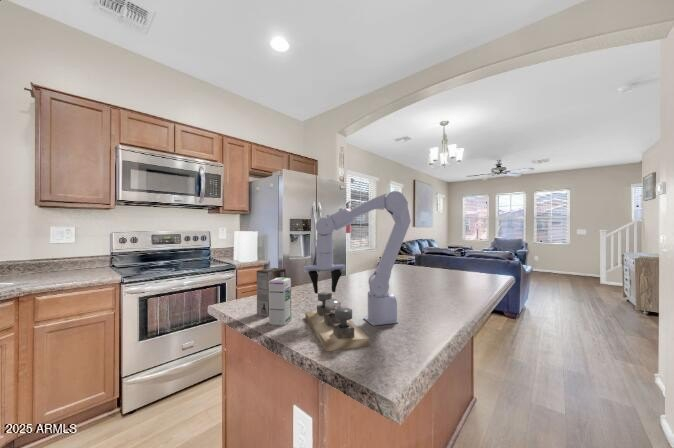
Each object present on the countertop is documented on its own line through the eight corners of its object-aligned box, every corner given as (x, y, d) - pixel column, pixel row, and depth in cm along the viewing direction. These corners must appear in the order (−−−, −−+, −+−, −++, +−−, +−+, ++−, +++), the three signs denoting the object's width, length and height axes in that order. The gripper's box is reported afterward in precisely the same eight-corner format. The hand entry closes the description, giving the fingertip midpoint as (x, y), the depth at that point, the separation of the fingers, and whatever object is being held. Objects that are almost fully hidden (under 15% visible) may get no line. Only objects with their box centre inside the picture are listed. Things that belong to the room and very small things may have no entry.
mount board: (337, 314, 100) (337, 302, 100) (369, 345, 73) (369, 328, 73) (305, 317, 96) (305, 304, 96) (326, 351, 69) (326, 333, 70)
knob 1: (329, 304, 97) (329, 291, 97) (333, 308, 93) (333, 295, 93) (316, 305, 96) (316, 292, 96) (319, 309, 91) (319, 296, 91)
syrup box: (285, 325, 88) (285, 280, 88) (268, 324, 89) (268, 280, 90) (291, 320, 94) (291, 277, 94) (275, 318, 95) (275, 277, 95)
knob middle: (338, 312, 88) (338, 298, 88) (342, 317, 83) (342, 302, 83) (323, 314, 86) (323, 299, 86) (327, 318, 82) (327, 303, 82)
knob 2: (348, 322, 78) (348, 307, 78) (354, 328, 74) (354, 311, 74) (332, 324, 77) (332, 308, 77) (337, 330, 72) (337, 313, 72)
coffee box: (274, 308, 108) (274, 267, 108) (286, 310, 104) (286, 268, 105) (256, 314, 100) (256, 270, 101) (268, 317, 97) (268, 271, 97)
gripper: (341, 251, 101) (341, 288, 100) (302, 252, 96) (302, 291, 96) (347, 253, 94) (347, 292, 94) (305, 254, 90) (305, 295, 89)
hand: (324, 292), depth 94 cm, fingers open, 6 cm apart
